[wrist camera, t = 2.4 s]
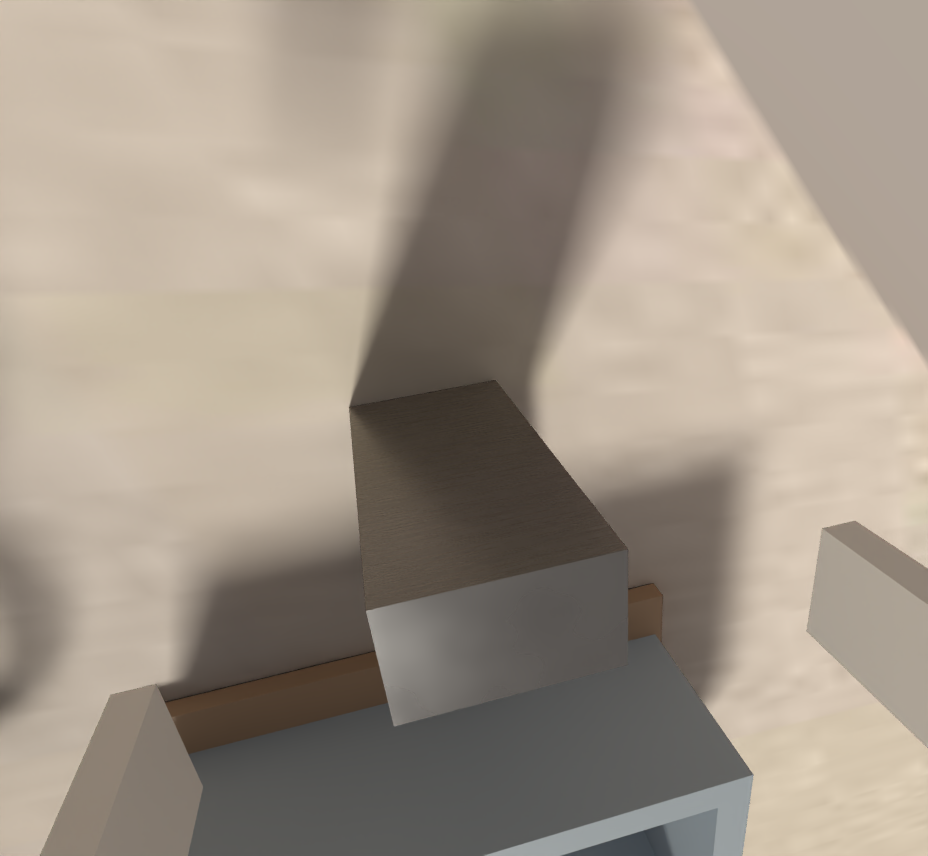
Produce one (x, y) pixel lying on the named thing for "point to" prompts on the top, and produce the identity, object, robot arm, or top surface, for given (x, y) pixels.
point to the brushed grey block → (479, 554)
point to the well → (468, 765)
